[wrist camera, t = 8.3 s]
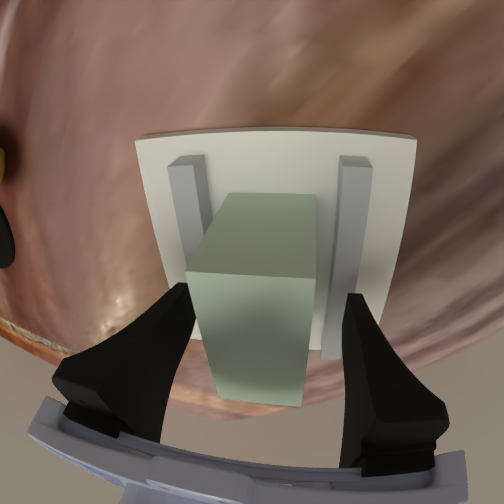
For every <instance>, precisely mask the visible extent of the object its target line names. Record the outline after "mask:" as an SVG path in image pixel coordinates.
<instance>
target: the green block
mask: <svg viewBox="0 0 504 504" xmlns="http://www.w3.org/2000/svg"><path fill="white" fill-rule="evenodd" d="M185 275H186V279H187V283H188V287H189V292H190V295H191V299H192V303H193V307H194V311H195V315H196V319H197V322H198V326H199V330H200V333H201V337H202V341H203V344H204V348H205V351H206V355H207V358H208V362H209V365H210V368H211V372H212V375H213V378H214V382H215V385H216V388H217V391H218V394H219V398H224V399H231V400H238V401H246V402H255V403H264V404H275V405H287V406H301V403H302V396H303V389H304V382H305V375H306V367H307V360H308V352H309V343H310V335H311V326H312V316H313V306H314V296H315V285H316V213H315V194H292V193H228V195H227V196H226V198H225V200H224V202H223V203H222V205H221V207H220V208H219V210H218V212H217V214H216V215H215V217H214V219H213V221H212V222H211V224H210V226H209V228H208V230H207V231H206V233H205V235H204V237H203V238H202V240H201V242H200V244H199V246H198V248H197V249H196V251H195V253H194V255H193V257H192V258H191V260H190V262H189V264H188V266H187V268H186V269H185Z"/></svg>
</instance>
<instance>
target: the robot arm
mask: <svg viewBox="0 0 504 504" xmlns="http://www.w3.org/2000/svg"><path fill="white" fill-rule="evenodd" d="M195 321H196V315H195V311H194V307H193V303H192V299H191V295H190V292H189V287H188V283H182V282H177V283H176V284H175V285H174V286H173V287H172V288H171V289H170V290H169V291H168V292H166V293H165V294H164V295H163V296H162V297H161V298H160V299H159V300H158V301H157V302H156V303H154V304H153V305H152V306H151V307H150V308H149V309H148V310H147V311H145V312H144V313H143V314H142V315H141V316H139V317H138V318H137V319H136V320H135V321H133V322H132V323H131V324H129V325H128V326H127V327H125V328H124V329H122V330H121V331H119V332H118V333H116V334H115V335H113V336H111V337H110V338H108V339H106V340H105V341H103V342H101V343H99V344H97V345H95V346H93V347H91V348H89V349H87V350H85V351H83V352H80V353H78V354H75V355H72V356H70V357H67V358H64V359H63V360H62V362H61V363H60V365H59V367H58V368H57V370H56V372H55V373H54V375H53V377H52V382H53V384H54V385H55V387H56V388H57V389H58V390H59V391H60V392H61V394H63V396H64V397H65V398H66V399H67V400H68V401H69V402H68V404H67V406H66V405H64V404H63V403H61V402H59V401H57V400H55V399H53V398H51V397H49V396H46V397H45V399H44V400H43V402H42V404H41V406H40V408H39V410H38V411H37V413H36V415H35V417H34V419H33V421H32V423H31V425H30V426H29V429H28V431H27V434H28V435H29V436H30V437H32V438H33V439H34V440H36V441H37V442H38V443H40V444H41V445H43V446H44V447H45V448H47V449H48V450H49V451H51V452H52V453H54V454H55V455H57V456H59V457H61V458H63V459H64V460H66V461H68V462H70V463H72V464H74V465H76V466H77V467H79V468H81V469H83V470H85V471H87V472H89V473H91V474H93V475H95V476H97V477H99V478H102V479H104V480H106V481H108V482H110V483H112V484H115V485H117V486H120V487H122V488H124V492H123V495H122V498H121V501H120V503H119V504H464V503H466V502H467V501H468V483H467V472H466V461H465V453H464V450H459V451H454V452H448V453H443V454H439V455H437V456H435V457H434V450H435V449H436V440H437V439H438V438H439V437H440V436H441V435H442V434H443V433H444V432H445V431H446V430H447V429H448V427H449V424H450V423H449V417H448V413H447V409H446V406H445V403H444V402H443V401H441V400H440V399H439V398H438V397H437V396H435V395H434V394H433V393H432V392H430V391H429V390H428V389H427V388H426V387H425V386H424V385H423V384H422V383H421V382H420V381H419V380H418V379H417V378H416V377H415V376H414V375H413V373H412V372H411V371H410V370H409V369H408V368H407V367H406V366H405V364H404V363H403V362H402V361H401V359H400V358H399V357H398V355H397V354H396V353H395V351H394V350H393V348H392V347H391V345H390V344H389V342H388V341H387V339H386V338H385V336H384V335H383V333H382V331H381V329H380V328H379V326H378V324H377V322H376V321H375V319H374V317H373V315H372V313H371V311H370V309H369V307H368V305H367V303H366V301H365V299H364V296H363V295H362V294H361V293H348V295H347V300H346V305H345V311H344V316H343V321H342V355H343V366H344V378H345V413H344V428H343V439H342V448H341V456H340V463H339V468H306V467H291V466H279V465H278V466H277V465H269V464H260V463H251V462H245V461H238V460H232V459H225V458H219V457H214V456H209V455H204V454H200V453H195V452H190V451H186V450H182V449H178V448H174V447H170V446H166V445H163V444H160V437H161V431H162V425H163V420H164V415H165V410H166V406H167V402H168V398H169V394H170V390H171V386H172V383H173V379H174V376H175V373H176V370H177V368H178V365H179V363H180V361H181V358H182V356H183V354H184V351H185V349H186V347H187V344H188V342H189V339H190V337H191V334H192V332H193V328H194V325H195ZM277 483H278V484H277ZM283 484H290V485H292V486H290V485H283Z"/></svg>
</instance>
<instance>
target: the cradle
mask: <svg viewBox="0 0 504 504" xmlns="http://www.w3.org/2000/svg"><path fill="white" fill-rule="evenodd" d="M135 145H136V150H137V156H138V161H139V166H140V171H141V176H142V180H143V185H144V190H145V194H146V199H147V203H148V207H149V212H150V216H151V220H152V224H153V228H154V232H155V236H156V240H157V244H158V248H159V252H160V255H161V259H162V263H163V266H164V270H165V274H166V277H167V281H168V284H169V287H170V289H171V288H172V287H173V286H174V285H175V284H176V283H177V282H182V283H187V279H186V275H185V269H186V268H187V266H188V264H189V262H190V260H191V258H192V257H193V255H194V253H195V251H196V249H197V248H198V246H199V244H200V242H201V240H202V238H203V237H204V235H205V233H206V231H207V230H208V228H209V226H210V224H211V222H212V221H213V219H214V217H215V215H216V214H217V212H218V210H219V208H220V207H221V205H222V203H223V202H224V200H225V198H226V196H227V195H228V193H292V194H315V213H316V285H315V296H314V306H313V316H312V326H311V335H310V343H309V350H321V359H330V360H340V356H341V352H342V321H343V316H344V311H345V305H346V300H347V295H348V293H361V294H362V295H363V296H364V299H365V301H366V303H367V305H368V307H369V309H370V311H371V313H372V315H373V317H374V319H375V321H376V322H377V324H378V325H379V322H380V318H381V315H382V312H383V309H384V305H385V302H386V298H387V295H388V291H389V288H390V284H391V280H392V277H393V273H394V269H395V265H396V261H397V256H398V252H399V248H400V243H401V239H402V234H403V229H404V224H405V219H406V214H407V209H408V203H409V197H410V191H411V185H412V178H413V171H414V164H415V156H416V147H417V140H416V139H415V138H414V137H412V136H411V135H407V134H399V133H390V132H380V131H370V130H358V129H343V128H323V127H238V128H218V129H203V130H190V131H179V132H170V133H161V134H152V135H144V136H142V137H141V138H139V139H137V140H135ZM190 338H192V339H199V340H202V337H201V333H200V330H199V326H198V322H197V319H196V321H195V325H194V328H193V332H192V334H191V337H190Z"/></svg>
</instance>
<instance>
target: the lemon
mask: <svg viewBox="0 0 504 504" xmlns="http://www.w3.org/2000/svg"><path fill="white" fill-rule="evenodd" d="M4 156H5V152H4V150H3V149H2V148H0V185H1V182H2V179H3V174H4Z"/></svg>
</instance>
